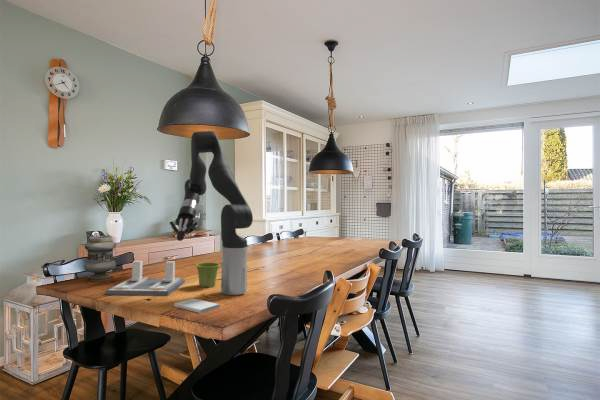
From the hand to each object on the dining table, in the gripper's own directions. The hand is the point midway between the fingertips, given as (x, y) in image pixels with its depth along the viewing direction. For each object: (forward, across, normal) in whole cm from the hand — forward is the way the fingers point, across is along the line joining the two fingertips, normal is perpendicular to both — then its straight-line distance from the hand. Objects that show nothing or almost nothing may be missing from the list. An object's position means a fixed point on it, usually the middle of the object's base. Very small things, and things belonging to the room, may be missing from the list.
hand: (179, 239), depth 157 cm
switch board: (+24, -6, 0) cm, 25 cm away
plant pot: (+20, +15, +5) cm, 25 cm away
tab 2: (+19, 0, +3) cm, 19 cm away
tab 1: (+19, -13, +3) cm, 23 cm away
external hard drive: (+41, +18, -16) cm, 48 cm away
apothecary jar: (+13, -33, +12) cm, 37 cm away
